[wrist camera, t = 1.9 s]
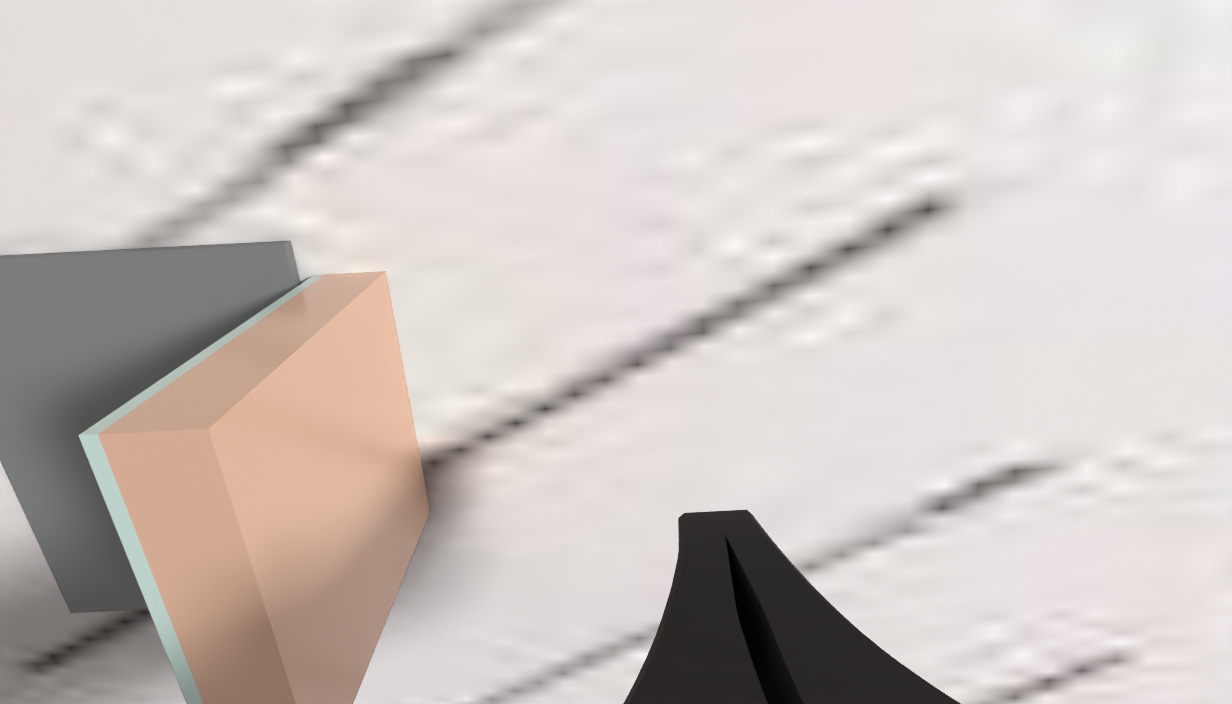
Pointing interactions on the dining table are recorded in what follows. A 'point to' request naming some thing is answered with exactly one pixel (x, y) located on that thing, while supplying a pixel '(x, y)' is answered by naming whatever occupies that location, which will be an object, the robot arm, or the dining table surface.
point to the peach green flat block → (272, 496)
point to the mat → (106, 377)
